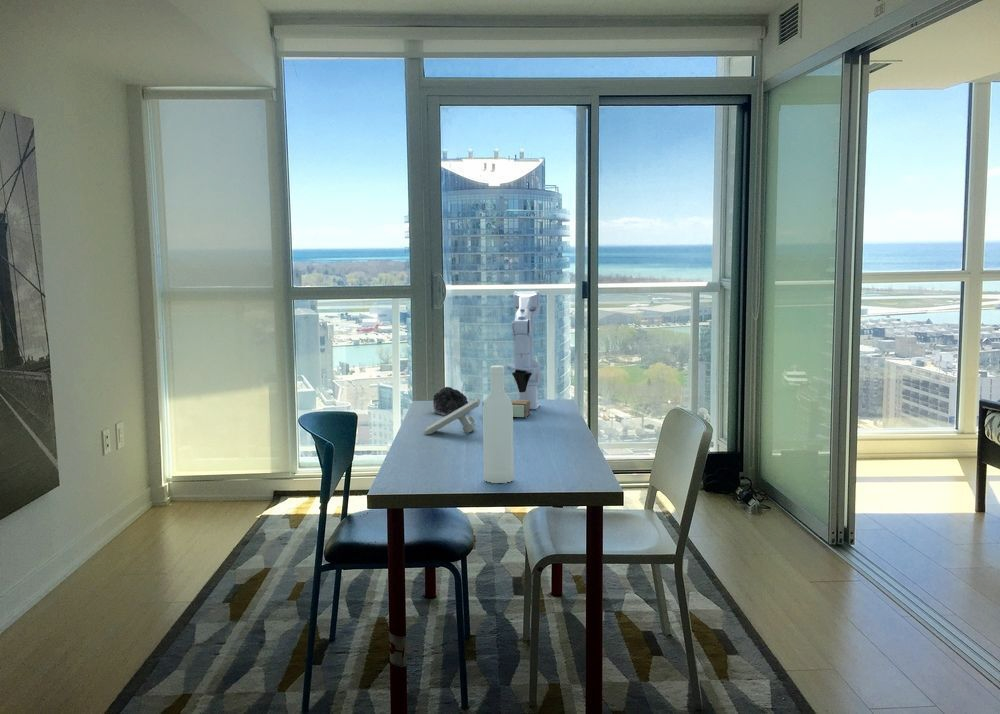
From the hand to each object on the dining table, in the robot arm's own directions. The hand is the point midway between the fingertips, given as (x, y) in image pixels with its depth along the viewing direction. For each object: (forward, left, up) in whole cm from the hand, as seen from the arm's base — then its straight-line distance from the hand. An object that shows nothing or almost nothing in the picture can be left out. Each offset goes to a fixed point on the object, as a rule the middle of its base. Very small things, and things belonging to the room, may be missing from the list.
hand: (522, 391), depth 288 cm
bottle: (+77, +8, -10) cm, 78 cm away
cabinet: (-6, -7, -10) cm, 13 cm away
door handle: (+19, -20, -10) cm, 29 cm away
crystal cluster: (-9, -29, -10) cm, 32 cm away
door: (-1, -7, -9) cm, 12 cm away
